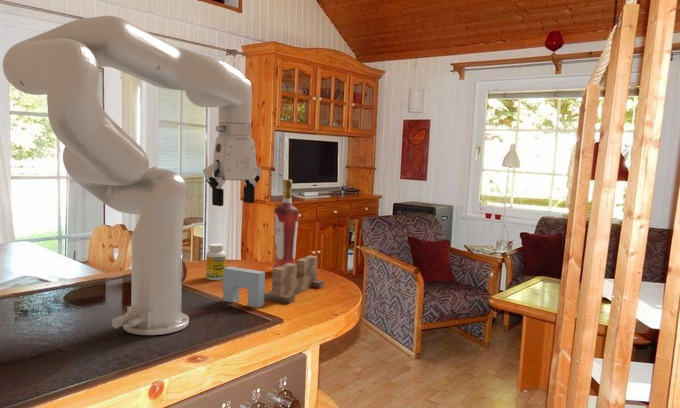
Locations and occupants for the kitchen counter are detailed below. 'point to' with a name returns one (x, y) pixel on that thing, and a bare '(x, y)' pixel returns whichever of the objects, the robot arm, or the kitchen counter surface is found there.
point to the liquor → (285, 228)
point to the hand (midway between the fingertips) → (233, 204)
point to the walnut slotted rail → (293, 280)
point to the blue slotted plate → (244, 285)
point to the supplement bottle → (215, 262)
